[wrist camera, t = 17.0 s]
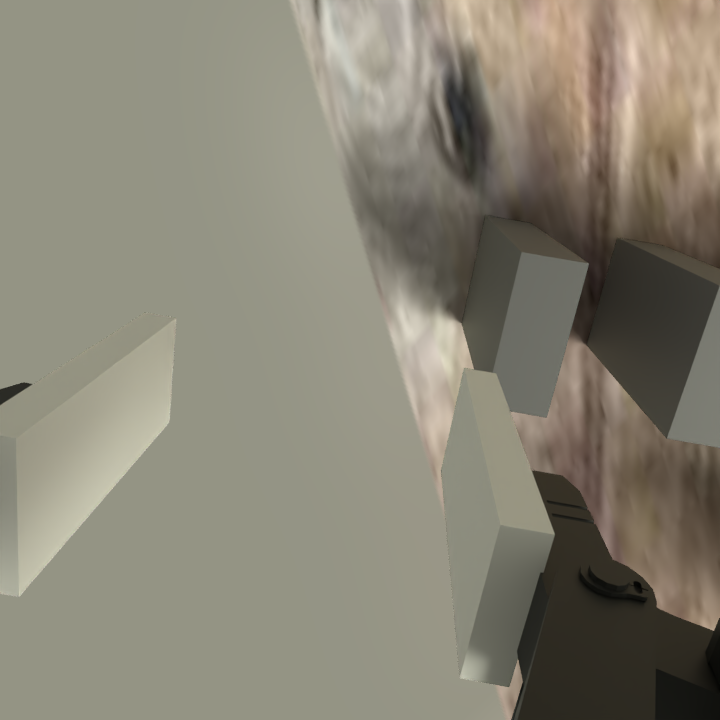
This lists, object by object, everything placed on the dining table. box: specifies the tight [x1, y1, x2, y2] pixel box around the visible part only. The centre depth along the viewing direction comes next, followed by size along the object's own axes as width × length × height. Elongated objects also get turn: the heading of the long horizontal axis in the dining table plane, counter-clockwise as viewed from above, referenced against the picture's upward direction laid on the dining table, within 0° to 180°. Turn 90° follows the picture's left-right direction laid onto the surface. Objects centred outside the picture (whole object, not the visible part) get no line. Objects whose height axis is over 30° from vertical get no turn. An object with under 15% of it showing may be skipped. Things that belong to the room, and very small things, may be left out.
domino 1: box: [462, 215, 589, 418], centre depth 30 cm, size 6×2×12 cm, turn 171°
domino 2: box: [587, 238, 720, 448], centre depth 29 cm, size 6×2×12 cm, turn 171°
